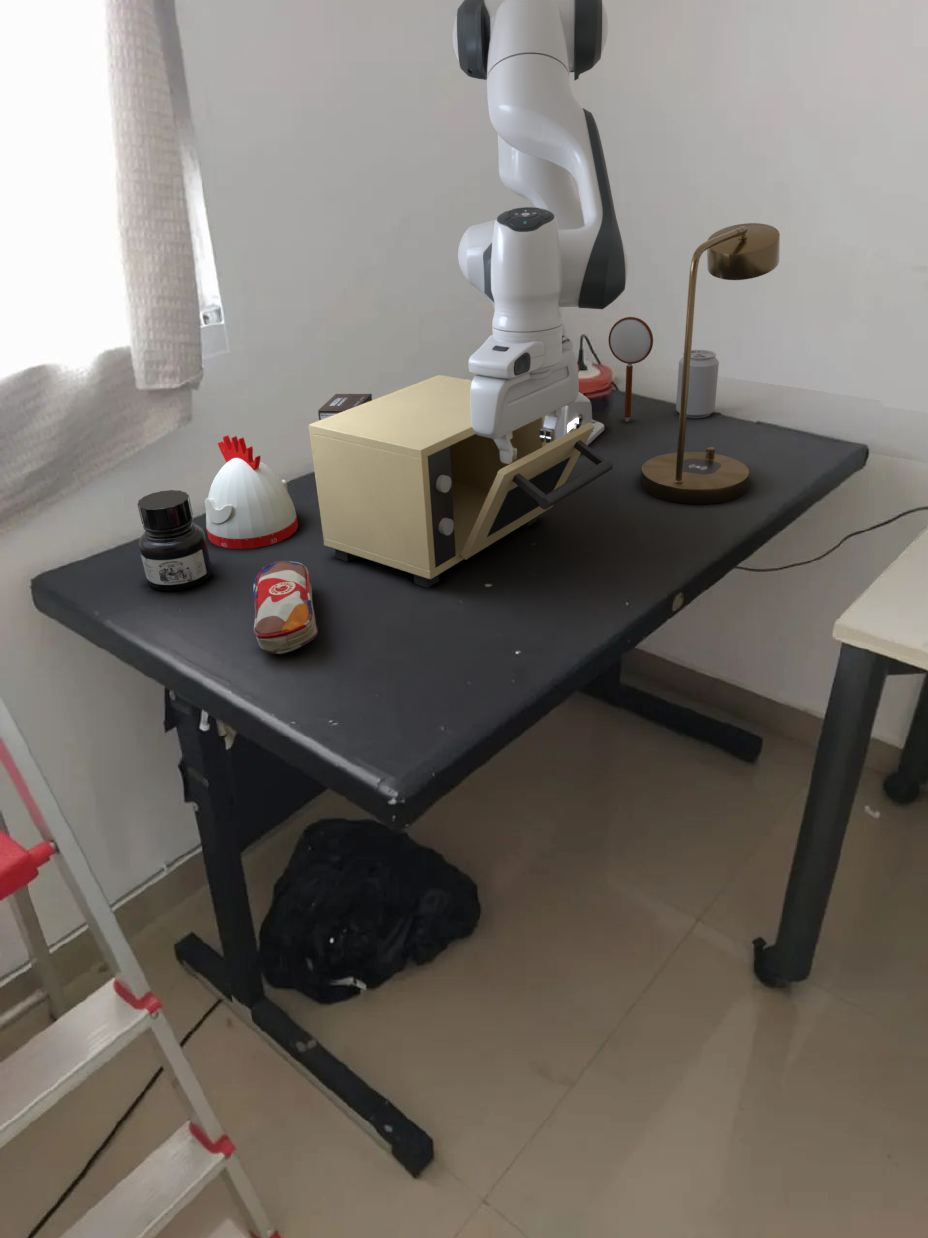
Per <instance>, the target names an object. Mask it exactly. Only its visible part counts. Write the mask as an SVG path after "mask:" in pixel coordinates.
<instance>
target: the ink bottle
mask: <svg viewBox="0 0 928 1238" xmlns="http://www.w3.org/2000/svg"><path fill="white" fill-rule="evenodd" d="M136 504H137V509H138V512H139V517H140V521H141V525H142V528H143V530H144V533H142V535H140V539H139V541H138V546H139V550H140V551H139V552H140V557H141V561H142V565H143V566H142V567H143V571H144V574H145V577H146V579H147V582H148V584H149V586H150V587H152V588H153V589H156V590H159V591H168V592H169V591H170V592H171V591H182V590H187V589H190V588H194V587H197V586H199V585H200V584H202V583H204V582H206V581H207V580H208V578H209V577H211V574H212V563H211V559H210V555H209V554H210V553H209V550H208V545H207V539H206V535H205V534H206V533H205V532H204V529H203V528H202V527H201V526H200V525H198V524H196V523H195V522H194V514H193V509H192V508H193V507H192V504H191V499H190V495H189V494H188V493H187V492H186V491H182V490H177V489H176V490H175V489H169V490H159V491H156V492H152V493H149V494H147V495H144V496H142V497H141V498H140V499H138V502H137V503H136Z"/></svg>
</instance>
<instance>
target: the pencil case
mask: <svg viewBox="0 0 928 1238" xmlns="http://www.w3.org/2000/svg"><path fill="white" fill-rule="evenodd" d="M252 592H253V604H254V605H253V607H254V608H253V612H254V613H253V614H254V625H253V634H254V635H255V638H256V641H257V643H258V646H259V647H260V648H261V649H262V651H263V652H265V653H268V654H272V655H282V654H283V655H285V654H287V653H290V652H293V651H295V650H297V649H298V650H299V648H301V647H303V646H305V645H307V644H309V643H310V642H311V641H313V640H314V639H315V638H316V636H317V635H318V632H319V630H318V625H317V622H316V615H315V609H314V604H313V587H312V584H311V582H310V573H309V569H308V567H307V566H306V565H305V564H304V563H301V562H299V561H294V560H293V561H292V560H279V561H274V562H271V563H268V564H267V565H265V566H263V567H262V568H261V571H259V572H258V573H257V574H256V576H255V578H254V580H253V591H252Z"/></svg>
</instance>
